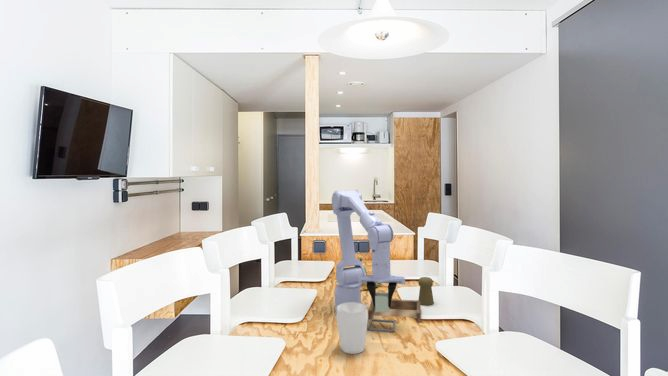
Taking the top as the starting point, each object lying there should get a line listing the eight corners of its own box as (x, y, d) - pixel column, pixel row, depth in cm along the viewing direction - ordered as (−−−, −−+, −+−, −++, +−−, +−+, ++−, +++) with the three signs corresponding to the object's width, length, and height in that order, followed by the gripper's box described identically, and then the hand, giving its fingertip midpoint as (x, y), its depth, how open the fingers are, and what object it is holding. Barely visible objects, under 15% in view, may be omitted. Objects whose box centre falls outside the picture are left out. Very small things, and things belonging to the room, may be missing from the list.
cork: (435, 310, 134) (434, 280, 134) (417, 309, 136) (417, 279, 135) (434, 304, 140) (433, 275, 140) (417, 304, 142) (416, 275, 141)
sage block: (375, 311, 117) (375, 296, 117) (376, 307, 121) (376, 292, 121) (388, 312, 116) (387, 296, 116) (389, 308, 120) (388, 292, 120)
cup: (335, 342, 111) (334, 302, 110) (365, 340, 112) (364, 301, 111) (338, 357, 102) (337, 314, 101) (371, 355, 103) (370, 312, 102)
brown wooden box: (368, 323, 124) (368, 310, 124) (372, 310, 136) (372, 298, 136) (420, 326, 120) (420, 313, 120) (420, 313, 132) (420, 300, 132)
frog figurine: (384, 291, 158) (379, 257, 157) (342, 296, 159) (337, 262, 159) (383, 284, 168) (378, 252, 167) (343, 289, 169) (339, 257, 168)
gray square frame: (367, 335, 115) (367, 329, 115) (370, 324, 123) (370, 318, 123) (394, 337, 113) (394, 330, 113) (395, 326, 121) (395, 320, 121)
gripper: (356, 265, 115) (357, 309, 116) (404, 266, 112) (405, 311, 113) (359, 260, 122) (360, 301, 123) (404, 261, 119) (405, 303, 120)
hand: (382, 305), depth 118 cm, fingers closed on sage block, 4 cm apart
